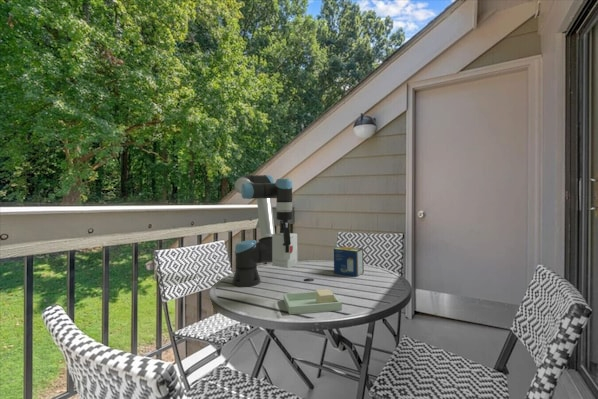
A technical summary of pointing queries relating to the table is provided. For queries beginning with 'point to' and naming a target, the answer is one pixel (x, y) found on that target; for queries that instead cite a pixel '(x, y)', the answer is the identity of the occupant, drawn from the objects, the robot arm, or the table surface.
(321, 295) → the tan rectangular block
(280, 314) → the table surface
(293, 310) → the green tray
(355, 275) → the protein box
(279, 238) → the supplement box
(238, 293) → the table surface
